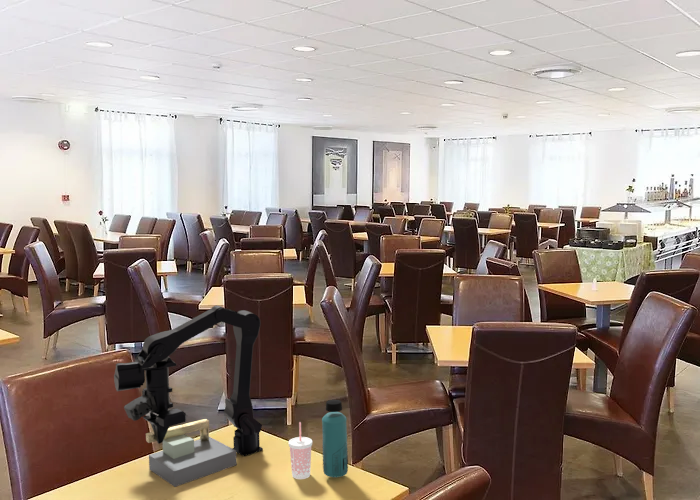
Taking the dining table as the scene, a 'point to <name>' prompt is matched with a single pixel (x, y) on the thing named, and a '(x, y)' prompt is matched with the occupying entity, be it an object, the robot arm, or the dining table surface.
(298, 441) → the beverage cup
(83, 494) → the dining table surface
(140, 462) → the dining table surface
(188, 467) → the box
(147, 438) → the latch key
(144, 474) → the dining table surface
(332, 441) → the beverage bottle
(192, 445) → the rectangular block
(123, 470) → the dining table surface
